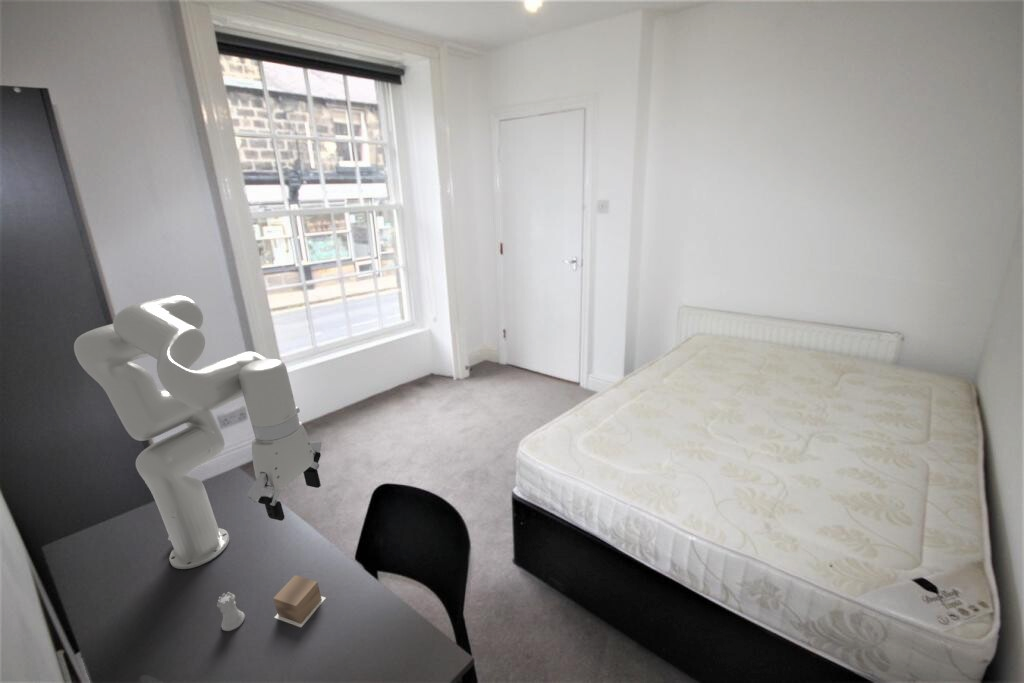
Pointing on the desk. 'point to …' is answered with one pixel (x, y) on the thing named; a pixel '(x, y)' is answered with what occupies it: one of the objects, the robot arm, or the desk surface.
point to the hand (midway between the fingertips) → (296, 501)
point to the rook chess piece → (230, 612)
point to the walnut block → (297, 599)
